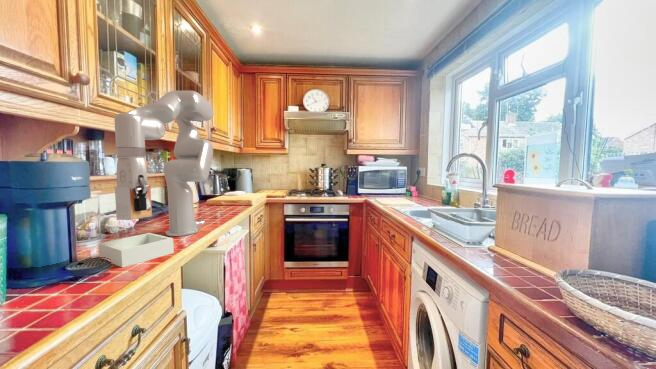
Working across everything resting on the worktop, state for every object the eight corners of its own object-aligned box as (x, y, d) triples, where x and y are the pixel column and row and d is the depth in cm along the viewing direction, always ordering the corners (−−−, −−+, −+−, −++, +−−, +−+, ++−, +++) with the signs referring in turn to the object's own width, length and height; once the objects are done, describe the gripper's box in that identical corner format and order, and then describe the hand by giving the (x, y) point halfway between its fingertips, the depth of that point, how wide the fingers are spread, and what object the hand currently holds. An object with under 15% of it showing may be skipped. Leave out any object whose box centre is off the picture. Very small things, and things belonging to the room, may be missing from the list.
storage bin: (149, 246, 100) (149, 232, 100) (173, 252, 93) (173, 238, 92) (99, 258, 87) (98, 243, 87) (122, 267, 80) (121, 250, 79)
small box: (131, 220, 84) (128, 186, 84) (116, 220, 85) (113, 186, 85) (152, 215, 92) (151, 184, 91) (138, 215, 93) (136, 184, 93)
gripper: (104, 154, 89) (108, 209, 90) (131, 152, 80) (135, 213, 81) (131, 154, 95) (134, 206, 96) (158, 153, 86) (161, 210, 87)
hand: (134, 209), depth 89 cm, fingers closed on small box, 7 cm apart
